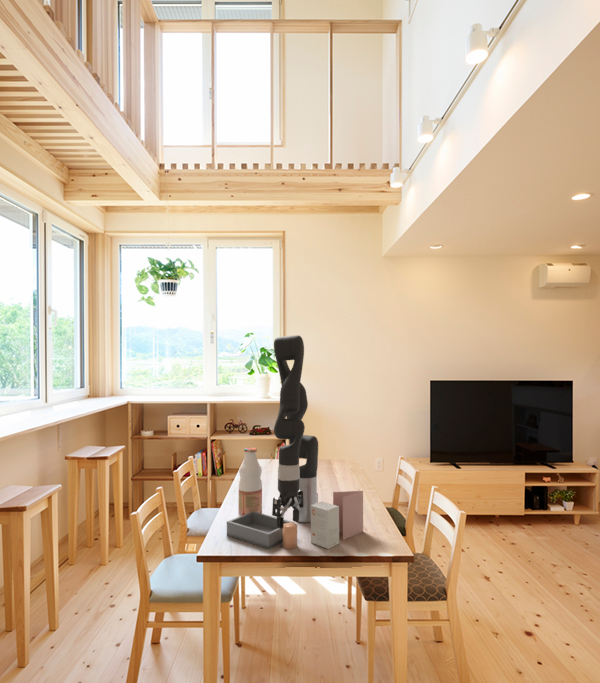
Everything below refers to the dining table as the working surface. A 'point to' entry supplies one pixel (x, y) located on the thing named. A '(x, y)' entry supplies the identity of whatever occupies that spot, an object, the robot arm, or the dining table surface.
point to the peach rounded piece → (290, 535)
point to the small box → (325, 524)
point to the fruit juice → (250, 484)
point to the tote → (256, 529)
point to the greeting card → (349, 512)
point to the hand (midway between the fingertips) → (288, 524)
